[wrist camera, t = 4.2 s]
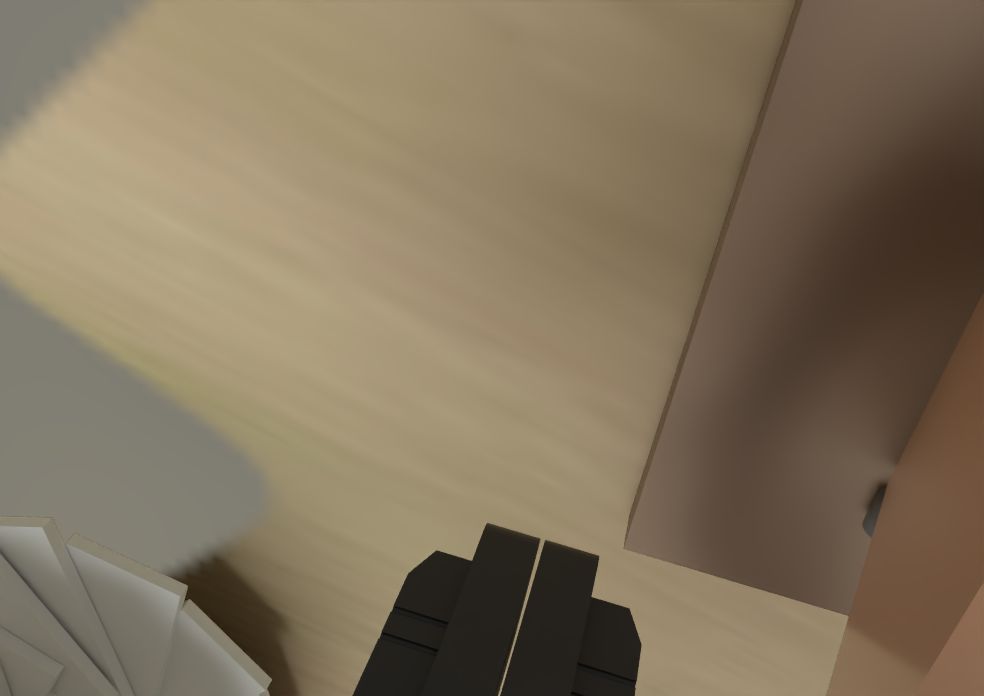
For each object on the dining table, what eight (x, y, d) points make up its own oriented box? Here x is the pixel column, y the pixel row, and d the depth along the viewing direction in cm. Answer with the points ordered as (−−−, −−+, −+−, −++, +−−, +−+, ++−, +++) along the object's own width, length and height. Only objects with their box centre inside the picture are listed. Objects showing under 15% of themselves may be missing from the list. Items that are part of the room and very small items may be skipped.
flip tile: (1043, 173, 19) (1096, 189, 18) (888, 481, 23) (930, 499, 22) (1019, 524, 8) (1141, 574, 8) (746, 967, 13) (819, 1013, 12)
